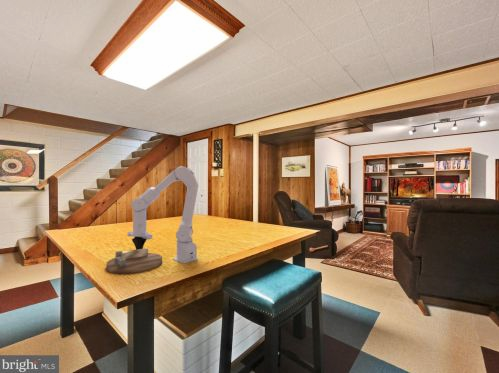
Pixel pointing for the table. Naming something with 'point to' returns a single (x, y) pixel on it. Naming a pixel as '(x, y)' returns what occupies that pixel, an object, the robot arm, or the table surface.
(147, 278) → the table surface
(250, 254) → the table surface
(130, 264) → the stool seat
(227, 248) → the table surface
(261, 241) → the table surface
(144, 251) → the folding leg
